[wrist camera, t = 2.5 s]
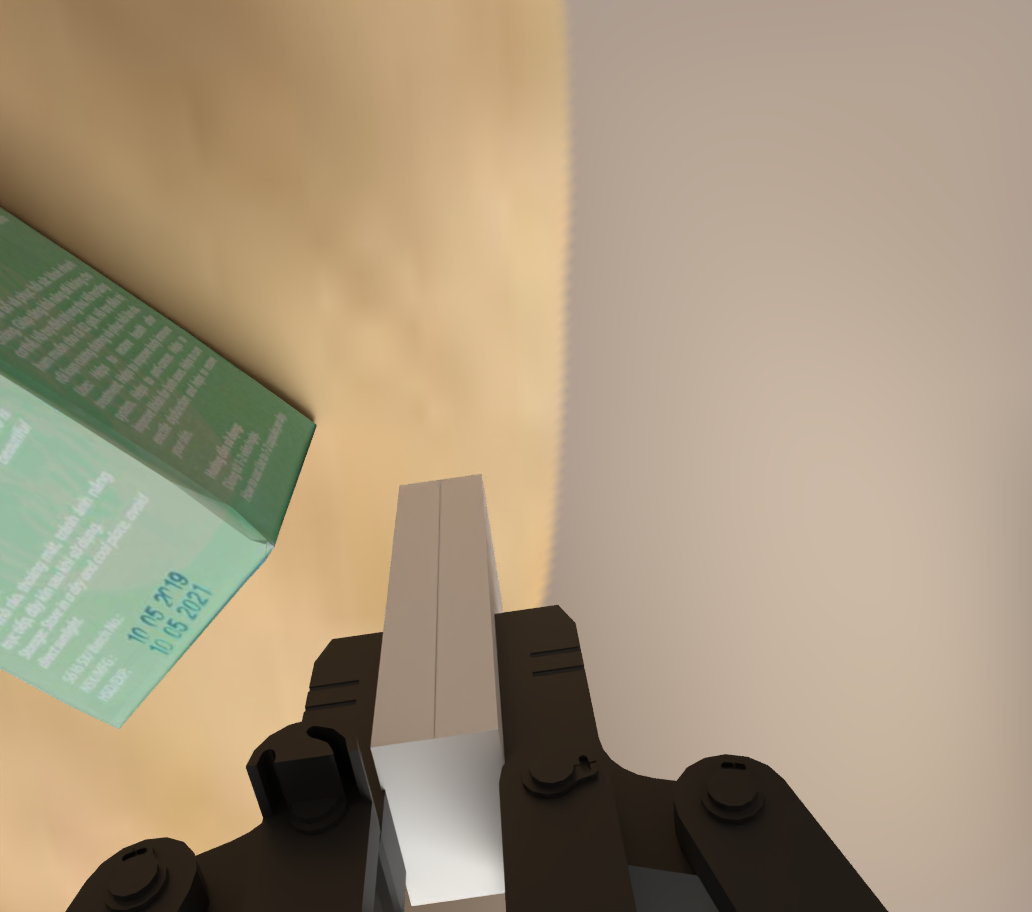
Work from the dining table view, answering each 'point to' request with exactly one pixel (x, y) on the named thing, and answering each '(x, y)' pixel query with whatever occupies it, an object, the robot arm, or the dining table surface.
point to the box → (122, 480)
